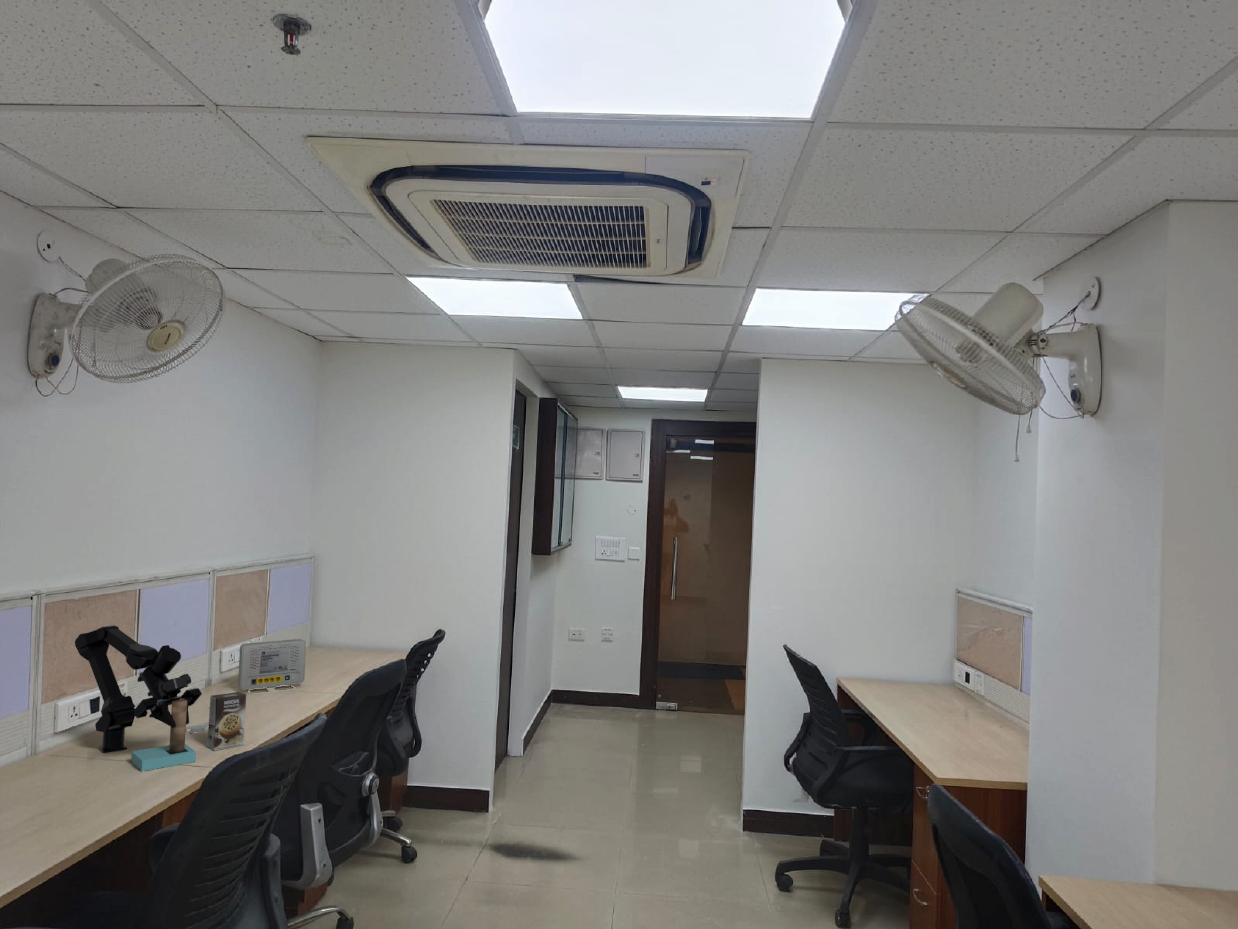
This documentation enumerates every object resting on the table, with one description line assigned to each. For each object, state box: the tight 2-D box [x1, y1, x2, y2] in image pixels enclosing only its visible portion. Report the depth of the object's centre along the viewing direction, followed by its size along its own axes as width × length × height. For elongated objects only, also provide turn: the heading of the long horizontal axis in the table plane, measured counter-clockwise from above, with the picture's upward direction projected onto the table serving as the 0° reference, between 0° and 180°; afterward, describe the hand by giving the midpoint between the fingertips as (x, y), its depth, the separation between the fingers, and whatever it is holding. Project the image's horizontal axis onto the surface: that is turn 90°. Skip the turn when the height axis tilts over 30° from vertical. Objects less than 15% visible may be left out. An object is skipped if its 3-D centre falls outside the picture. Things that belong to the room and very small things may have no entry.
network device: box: [237, 638, 307, 691], centre depth 332 cm, size 26×9×20 cm, turn 130°
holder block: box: [130, 743, 197, 772], centre depth 235 cm, size 12×14×3 cm
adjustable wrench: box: [186, 721, 209, 734], centre depth 276 cm, size 25×6×2 cm, turn 158°
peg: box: [168, 700, 187, 754], centre depth 236 cm, size 4×4×15 cm
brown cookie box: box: [206, 691, 247, 751], centre depth 252 cm, size 9×6×16 cm
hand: (181, 725), depth 235 cm, fingers closed on peg, 4 cm apart
